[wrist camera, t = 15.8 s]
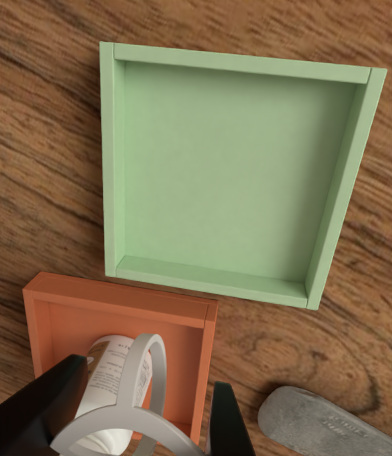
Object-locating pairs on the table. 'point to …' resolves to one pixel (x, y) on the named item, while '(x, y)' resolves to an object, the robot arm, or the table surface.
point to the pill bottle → (109, 390)
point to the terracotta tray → (126, 334)
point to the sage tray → (229, 168)
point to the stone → (318, 426)
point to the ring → (131, 409)
